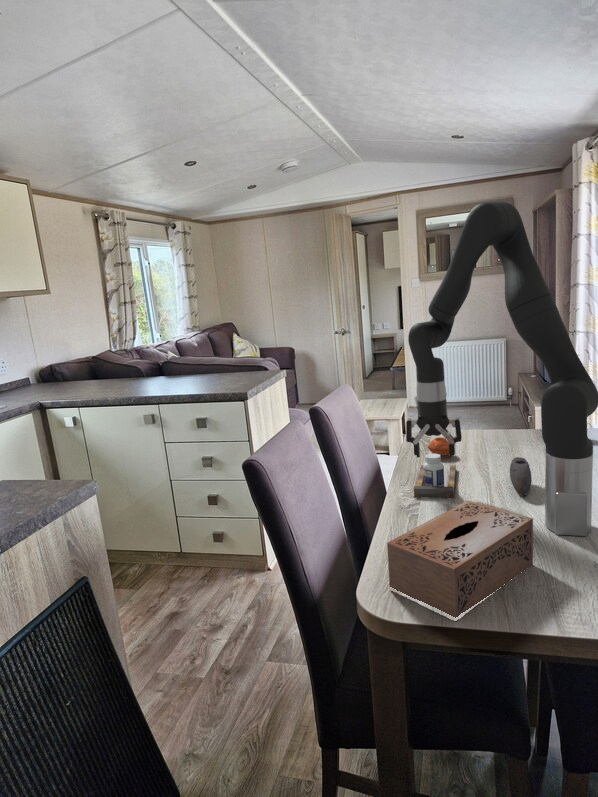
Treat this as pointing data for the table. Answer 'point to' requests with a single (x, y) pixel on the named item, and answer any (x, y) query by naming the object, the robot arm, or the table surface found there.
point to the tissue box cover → (461, 556)
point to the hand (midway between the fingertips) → (434, 456)
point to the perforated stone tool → (520, 475)
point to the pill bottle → (433, 471)
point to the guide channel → (435, 490)
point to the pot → (439, 446)
